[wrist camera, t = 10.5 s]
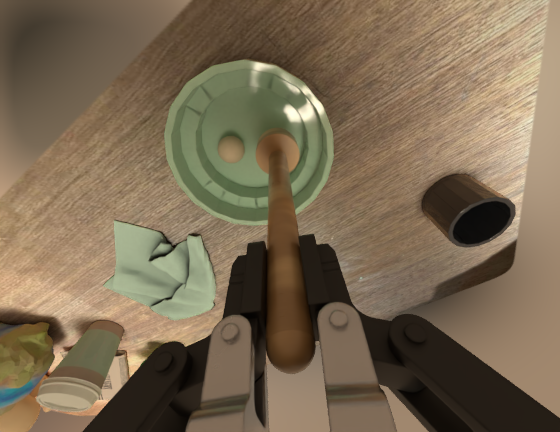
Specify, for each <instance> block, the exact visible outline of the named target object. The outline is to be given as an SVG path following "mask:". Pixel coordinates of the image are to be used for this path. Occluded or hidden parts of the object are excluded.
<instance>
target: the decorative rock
mask: <svg viewBox="0 0 560 432" xmlns="http://www.w3.org/2000/svg"><path fill="white" fill-rule="evenodd" d="M49 325H50V324H48V323H45V322H39V323H36V324H34V325H33V324H20V325H12V326H11V325H7V324H2V323H1V322H0V416H2V415H3V414H4V413H6V412H8V411H10V410H11V409H12V408H13V407H14V406H15V404H16V403H17V402H19V401H21V400H22V399H24V398H25V397H26V396H27V395H28V394H30V393H31V392H32V390H33V389H34V388H35V387H36V386H37V384H38V383H39V382H40V381H41V379H42V378H43V377H44V375H45V374H46V373H47V372H48V370H49V368H50V366H51V364H52V363H53V361H54V358H55V356H54V354H53V341H52V338H51V337H50V336H49V335H47V333H48V332H47V330H48V328H49Z"/></svg>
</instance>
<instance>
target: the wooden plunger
mask: <svg viewBox="0 0 560 432" xmlns="http://www.w3.org/2000/svg"><path fill="white" fill-rule="evenodd" d="M299 157H300V152H299V148H298V144H297V141H296V139H295V137H294V136H293V134H292V133H290V132H289V131H288V130H286V129H283V128H271V129H269V130H267V131H265V132H264V133H263V134H262V135H261V136H260V138H259V140H258V142H257V147H256V161H257V163H258V165H259V167H260V168H261V169H262V170H263V171H264V172H265V173H267V174H269V178H268V235H267V300H266V352H267V356H268V358H269V360H270V362H271V363H272V364H273V366H274V367H275V368H277V369H278V370H280V371H281V372H284V373H288V374H295V373H298V372H301V371H303V370H304V369H306V368H307V367H308V366H309V364H310V363H311V361H312V359H313V357H314V354H315V348H316V345H315V336H314V330H313V324H312V322H311V318H310V311H309V305H308V298H307V292H306V285H305V278H304V272H303V265H302V258H301V252H300V245H299V238H298V236H299V233H298V226H297V220H296V213H295V207H294V200H293V194H292V187H291V181H290V175H289V173H290V172H291V171H292V170H293V169H294V168H295V167H296V166H297V164H298V161H299Z"/></svg>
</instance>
